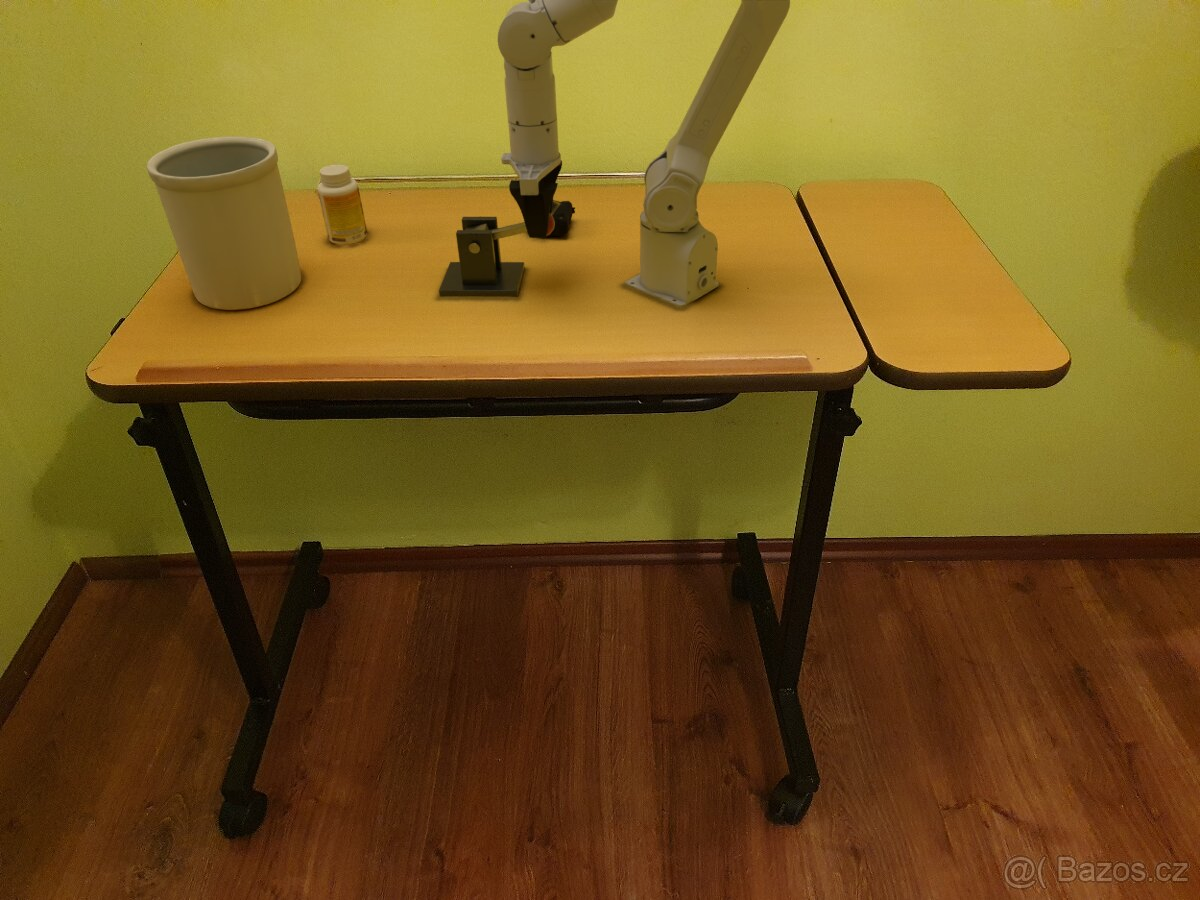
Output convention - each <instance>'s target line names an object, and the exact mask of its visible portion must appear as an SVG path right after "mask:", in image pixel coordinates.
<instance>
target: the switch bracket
mask: <svg viewBox="0 0 1200 900" xmlns="http://www.w3.org/2000/svg"><path fill="white" fill-rule="evenodd" d="M482 224H487V226H488V229H489V230H466V228H469V227H473V226H478V225H482ZM461 228H462V229H457V230H456V232H455V236H456V237H455V238H456V245H457V251H458V253H457V254H458V259H459V261H450V262H449V263H448V267H447V268H446V272H445V274H444V277H443V279H442V282H441V283H440V287H439V289H438V294H439V297H482V298H483V297H496V298H497V297H499V298H500V297H502V298H503V297H504V298H505V297H506V298H508V297H509V298H512V297H513V298H517V297H518V295H519V291H520V288H521V284H522V280H523V277H524V272H525V262H524V261H502V257H501V255H502V254H501V247H500V238H499V239H495V240H493V234H492V229H496V228H499V226H498V217H497V216H462V218H461Z"/></svg>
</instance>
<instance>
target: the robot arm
mask: <svg viewBox="0 0 1200 900" xmlns="http://www.w3.org/2000/svg"><path fill="white" fill-rule="evenodd" d="M618 1H619V0H528V2H527V1H521V2H519V3H516V4H514V5H513V6H512V7H511V8H510V9H509V10H508V11H507V12H506V15H505V17H504V18H503V20H502V22H501V24H500V25H499V28H498V32H497V46H498V50H499V52H500V54H501V57H503V69H504V75H505V77H504V90H505V91H504V92H505V102H506V104H505V105H506V113H507V114H506V115H507V124H508V136H509V148H510V152H504V153H503V154H502V155H501V157H500V160H501V164H502V165H509V166H510V167H511V168H512V170H513V171H514V173H515V174H516V176H517V177H518V179H511V180H510V182H509V184H508V189H509V193H510V195H511V197H512V198H513V199H514V201H515V202H516V204H517V206H518V208H519V211H520V213H521V215H522V218H523V219H522V220H523V222H525V226H526V229H527V232H526V233H527V234H528V236H529V238H531V239H545V238H547V237H546V235H547V231H548V224H549V213H550V214H551V213H552V206H553V200H554V197H555V193H556V192H557V189H558V185H559V184H558V182H557V180H558V177H559V175H560V172H561V170H562V168H563V160H562V157H561V155H562V154H561V152H560V151H559V150H560V149H559V147H560V145H559V129H558V113H557V94H556V78H555V74H554V71H553V69H554V68H553V52H552V48H553V47H563V46H565V45H567V44H569V43H571V42H573V41H574V40H575V39H578V38H579V37H581V36H583V35H584V34H585V33H588V32H589V31H591V30H593V29H595V28H597V27H599V26H600V25H602V24H603V23H605V22H607V21H608V20H611V19H612V18H613V17H614V15H615V12H616V9H617V5H618ZM790 7H791V0H741V2H740V5H739V7H738V10H736V13H735V15H734V18H733V19H732V21H731V23H730V25H729V27H728V29H727V32H726V33H725V35H724V38H723V39H722V41H721V43H720V45H719V47H718V49H717V51H716V54H715V55H714V57H713V59H712V61H711V63H710V65H709V67H708V70H707V71H706V73H705V75H704V77H703V79H702V81H701V83H700V85H699V87H698V90H697V92H696V93H695V95H694V97H693V99H692V101H691V103H690V106H689V108H688V109H687V111H686V113H685V115H684V117H683V119H682V122H681V123H680V126H679V128H678V129H677V132H676V133H675V134H674V136H673V137H671V138H670V139H669V141H668V142H667V144H666V146H665V148H664V149H663V151H662V152H661V153H660V154H659V155H658V156H657V157H655V158H654V159H652V160H651V162H650V163H649V164H648V166H647V167H646V169H645V172H644V178H643V180H644V187H645V188H644V189H645V190H644V191H645V192H644V198H643V205H642V206H643V211H642V212H640V215H639V221H640V222H639V230H640V231H639V274H637V275H635V276H633V277H631V278H630V279H627V280H626V281H625V285H626V286H628V287H630V288H633V289H635V290H637V291H640V292H642V293H645V294H647V295H649V296H652V297H655V298H657V299H659V300H662V301H664V302H667V303H669V304H671V305H674V306H676V307H680V308H682V307H685V306H687V305H688V304H690V303H692V302H695V301H696V300H698V299H699V298H701V297H703V296H705V295H706V294H708V293H709V292H711V291H713V290H714V289H716V288H718V287H719V286H720V282H719V281H717V263H718V249H719V248H718V247H719V246H718V245H719V244H718V239H717V236H716V234H714V233H713V232H712V231H710V230H708V229H707V228H705V226H703V225H702V223H701V222H700V220H699V219H700V217H699V216H700V215H699V212H698V210H697V209H698V195H699V192H700V190H701V187H702V186H703V184H704V181H705V179H706V174H707V171H708V168H709V166H710V165H709V164H710V161H711V158H712V157H713V154H714V152H715V150H717V147H718V146H719V143H720V142H721V139H722V137H723V136H724V134H725V132H726V130H727V128H728V127H729V124H730V122H731V120H732V119H733V117H734V115H735V114H736V112H737V110H738V108H739V107H740V106H739V105H741V102H742V100H743V98H744V96H745V94H746V93H747V91H748V89H749V87H750V85H751V83H752V82H753V79H754V78H755V75H756V74H757V72H758V70H759V68H760V67H761V64H762V62H763V61H764V58H765V57H766V55H767V53H768V51H769V49H770V48H771V46H772V44H773V42H774V40H775V38H776V36H777V34H778V33H779V30H780V28H781V27H782V25H783V24H784V21H785V20H786V17H787V15H788V13H789V10H790Z"/></svg>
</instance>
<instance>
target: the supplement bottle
mask: <svg viewBox="0 0 1200 900" xmlns="http://www.w3.org/2000/svg"><path fill="white" fill-rule="evenodd" d="M319 176H320V180H321V182H320V183H318V185H317V194H318V199H319V204H320V207H321V212H322V217H323V221H324V226H325V229H326V234H327V238H328V240H329V241H330V242H331V243H332V244H335V245H342V246H345V245H353V244H356V243H359V242H362V241H363V240H365V239H366V238H367V236H368V229H367V224H366V219H365V213H364V209H363V208H364V207H363V203H362V200H361V194H360V188H359V184H358V181H357V180H355V179H354V178H352V177H351V173H350V168H349V166H348V165H345V164H341V163H339V164H337V163H335V164H331V165H330V164H329V165H326V166H324V167H321V168H320V169H319Z"/></svg>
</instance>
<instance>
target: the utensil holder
mask: <svg viewBox="0 0 1200 900" xmlns="http://www.w3.org/2000/svg"><path fill="white" fill-rule="evenodd" d="M278 160H279V157H278V152H277V148H276V146H275V145H274V143H273V142H271V141H269V140H267V139H263V138H258V137H253V136H252V137H251V136H236V135H235V136H233V135H232V136H217V137H216V136H215V137H207V138H201V139H200V138H199V139H196V140H190V141H186V142H182V143H178V144H176V145H173V146H170V147H167V148H165V149H163V150H161V151H159V152H157V153H156V154H154V155H153V156H152V157H150V159H149V160H148V161H147V163H146V170H147V173H148V176H149V177H150V179H151V181H152V182H153V183H154V184H155V185H154V186H155V188H156V191H157V194H158V196H159V199H160V202H161V205H162V207H163V210H164V213H165V216H166V219H167V222H168V225H169V228H170V231H171V233H172V237H173V239H174V242H175V246H176V248H177V251H178V254H179V257H180V260H181V262H182V265H183V268H184V271H185V273H186V276H187V279H188V281H189V285H190V286H191V289H192V292H193V295H194V297H195V299H196V300H197V301H198V302H199V303H200V304H202V305H204V306H206V307H208V308H211V309H215V310H227V311H233V310H234V311H236V310H238V311H239V310H247V309H254V308H258V307H262V306H266V305H270V304H272V303H275V302H277V301H280V300H282V299H284V298H285V297H288V296H289V295H290V294H292V293H293V292H294V291H295V290H297V288H299V286H300V284H301V283H302V272H301V265H300V261H299V256H298V250H297V245H296V240H295V236H294V231H293V227H292V222H291V217H290V213H289V208H288V205H287V200H286V195H285V192H284V187H283V186H284V185H283V181H282V179H281V178H282V177H281V173H280V169H279V165H278Z"/></svg>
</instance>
